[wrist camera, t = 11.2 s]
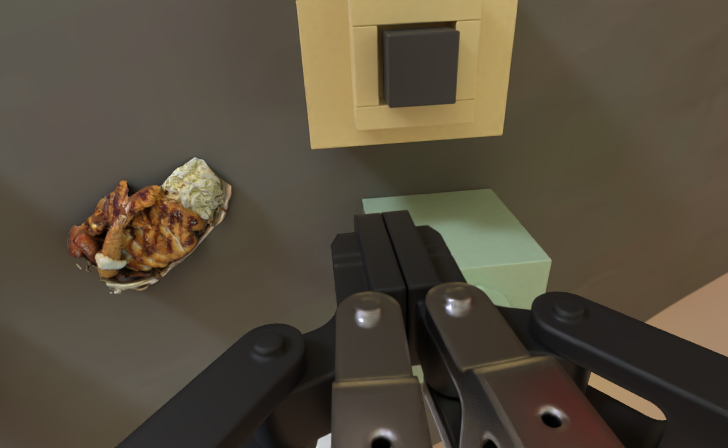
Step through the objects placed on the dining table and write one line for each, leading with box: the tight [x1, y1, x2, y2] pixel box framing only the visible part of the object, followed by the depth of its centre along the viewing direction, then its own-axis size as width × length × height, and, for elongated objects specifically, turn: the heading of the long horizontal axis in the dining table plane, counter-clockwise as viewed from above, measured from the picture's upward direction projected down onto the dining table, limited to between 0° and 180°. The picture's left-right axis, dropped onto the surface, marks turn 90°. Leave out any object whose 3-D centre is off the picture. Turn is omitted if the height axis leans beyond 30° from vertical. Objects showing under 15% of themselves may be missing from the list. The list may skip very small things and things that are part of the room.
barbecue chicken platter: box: [68, 157, 232, 294], centre depth 31 cm, size 7×12×4 cm, turn 130°
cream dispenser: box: [296, 0, 518, 149], centre depth 25 cm, size 11×9×8 cm
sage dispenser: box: [362, 189, 552, 383], centre depth 31 cm, size 10×9×12 cm
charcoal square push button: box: [382, 27, 460, 108], centre depth 21 cm, size 3×3×2 cm
